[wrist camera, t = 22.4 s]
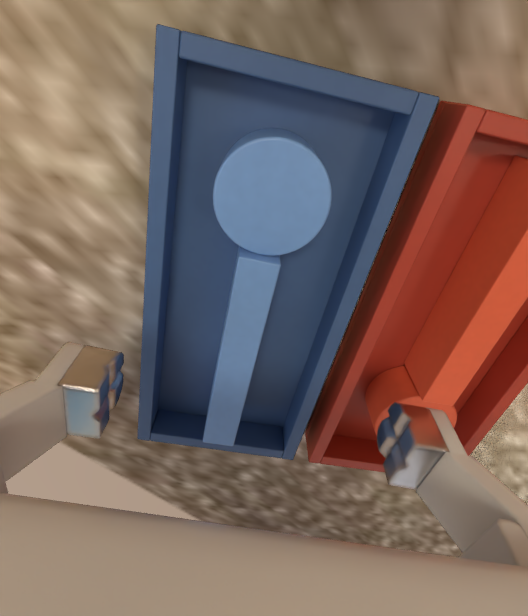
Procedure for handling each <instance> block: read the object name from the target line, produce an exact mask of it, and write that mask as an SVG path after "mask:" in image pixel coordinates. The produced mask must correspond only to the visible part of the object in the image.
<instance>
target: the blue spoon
mask: <svg viewBox="0 0 528 616" xmlns="http://www.w3.org/2000/svg"><path fill="white" fill-rule="evenodd" d="M331 200H332V189H331V183H330V179H329V176H328V173H327V171H326V168H325V166H324V165H323V163H322V162H321V160H320V159H319V157H318V156H317V154H316V153H315V151H314V150H313V148H312V147H311V146H310V145H309V144H308V143H307V142H306V141H305V140H304V139H303V138H301V137H300V136H298V135H296V134H294V133H292V132H290V131H287V130H284V129H278V128H266V129H260V130H257V131H254V132H251V133H249V134H247V135H245V136H244V137H242V138H241V139H240V140H238V141H237V142H236V143H235V144H234V145H233V146H232V147H231V149H230V150H229V151H228V153H227V154H226V156H225V158H224V160H223V162H222V164H221V166H220V169H219V171H218V173H217V176H216V178H215V182H214V187H213V206H214V211H215V214H216V217H217V220H218V222H219V224H220V226H221V228H222V229H223V231H224V232H225V233H226V235H227V236H228V237H229V238H230V239H231V240H232V241H233V242H234V243H236V244H237V245H239V248H238V253H237V259H236V264H235V269H234V274H233V280H232V285H231V290H230V295H229V301H228V306H227V311H226V316H225V322H224V327H223V332H222V337H221V343H220V348H219V353H218V358H217V363H216V369H215V374H214V379H213V384H212V390H211V395H210V400H209V406H208V412H207V418H206V424H205V430H204V436H203V442H205V443H212V444H220V445H227V446H233V445H234V442H235V438H236V434H237V430H238V427H239V423H240V419H241V415H242V411H243V408H244V404H245V400H246V396H247V392H248V389H249V385H250V381H251V377H252V373H253V370H254V366H255V362H256V358H257V354H258V351H259V347H260V343H261V339H262V336H263V332H264V328H265V324H266V320H267V317H268V313H269V309H270V305H271V301H272V298H273V294H274V290H275V286H276V282H277V279H278V275H279V271H280V267H281V263H280V255H283V254H287V253H290V252H293V251H296V250H298V249H300V248H302V247H303V246H305V245H306V244H308V243H309V242H310V241H311V240H312V239H313V238H314V237H315V236H316V235H317V234H318V233H319V232H320V230H321V229H322V227H323V226H324V224H325V222H326V220H327V217H328V215H329V211H330V207H331Z"/></svg>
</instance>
